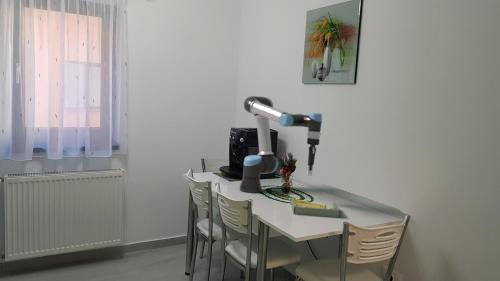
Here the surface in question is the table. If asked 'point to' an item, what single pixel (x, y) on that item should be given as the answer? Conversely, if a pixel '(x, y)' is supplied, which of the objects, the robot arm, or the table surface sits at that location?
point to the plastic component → (307, 204)
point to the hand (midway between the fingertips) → (309, 175)
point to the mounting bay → (316, 210)
